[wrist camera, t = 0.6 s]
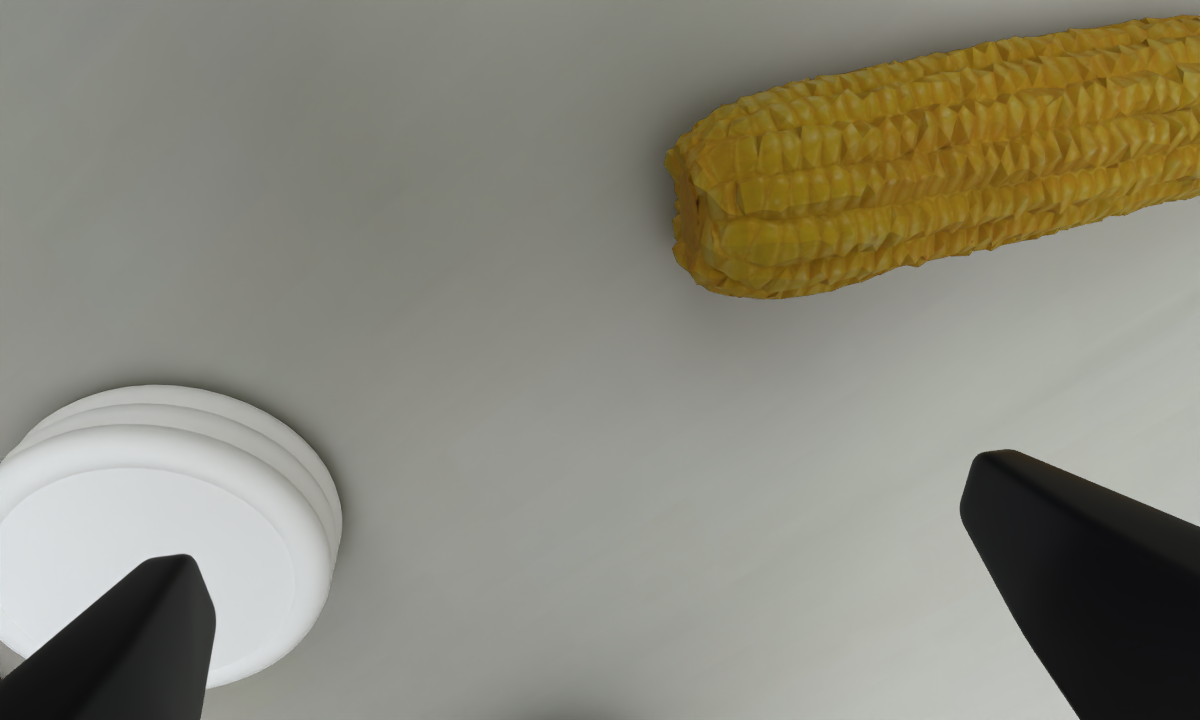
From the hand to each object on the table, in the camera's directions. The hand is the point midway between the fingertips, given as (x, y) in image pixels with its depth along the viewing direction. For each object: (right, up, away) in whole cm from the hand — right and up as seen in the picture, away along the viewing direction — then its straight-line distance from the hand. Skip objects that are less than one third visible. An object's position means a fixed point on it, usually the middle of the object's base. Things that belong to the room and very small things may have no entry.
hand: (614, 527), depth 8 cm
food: (+11, +10, +15) cm, 21 cm away
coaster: (-14, -3, +16) cm, 21 cm away
